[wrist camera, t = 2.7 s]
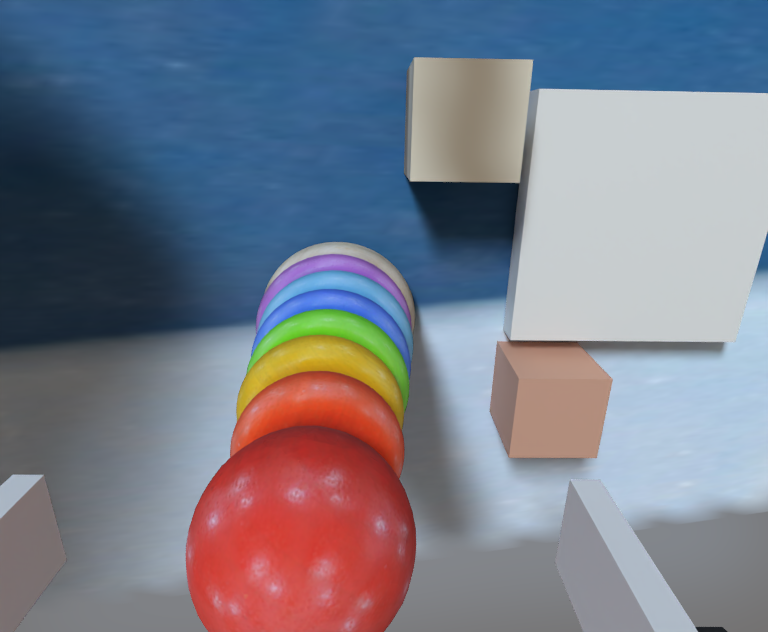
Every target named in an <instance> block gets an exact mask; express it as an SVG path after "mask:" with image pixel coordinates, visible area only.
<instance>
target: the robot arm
mask: <svg viewBox="0 0 768 632" xmlns="http://www.w3.org/2000/svg"><path fill="white" fill-rule="evenodd" d="M66 561H67V558H66V555H65V551H64V547H63V543H62V540H61V536H60V532H59V529H58V525H57V521H56V518H55V514H54V510H53V506H52V503H51V499H50V495H49V492H48V488H47V484H46V481H45V477H44V475H12V476H11V477H10V478H9V479H7V480H6V481H5V482H4V483H3V484H2V485H1V486H0V632H14V631H15V629H16V628H17V627H18V625H19V624H20V623H21V621H22V620H23V619H24V617H25V616H26V615H27V613H28V612H29V611H30V609H31V608H32V607H33V605H34V604H35V603H36V601H37V600H38V598H39V597H40V596H41V594H42V593H43V592H44V590H45V589H46V588H47V586H48V585H49V584H50V582H51V581H52V580H53V578H54V577H55V576H56V574H57V573H58V571H59V570H60V569H61V567H62V566H63V565H64V563H65V562H66ZM555 564H556V567H557V569H558V572H559V574H560V577H561V579H562V581H563V584H564V586H565V589H566V591H567V594H568V596H569V598H570V601H571V603H572V606H573V608H574V611H575V613H576V615H577V618H578V620H579V622H580V625H581V628H582V630H583V632H727V631H726V630H725V629H724V628H723V627H695V626H694V625H693V623H692V622H691V620H690V618H689V617H688V615H687V614H686V612H685V611H684V609H683V607H682V606H681V604H680V603H679V601H678V600H677V598H676V597H675V595H674V594H673V592H672V590H671V589H670V587H669V586H668V584H667V583H666V581H665V580H664V578H663V576H662V575H661V573H660V572H659V570H658V569H657V567H656V566H655V564H654V563H653V561H652V559H651V558H650V556H649V555H648V553H647V552H646V550H645V548H644V547H643V545H642V544H641V542H640V541H639V540H638V538H637V536H636V534H635V533H634V532H633V530H632V528H631V527H630V525H629V524H628V522H627V520H626V519H625V517H624V516H623V514H622V513H621V511H620V510H619V508H618V506H617V505H616V503H615V502H614V500H613V499H612V497H611V496H610V494H609V492H608V491H607V489H606V488H605V486H604V485H603V483H602V482H601V480H595V479H570V482H569V487H568V493H567V499H566V504H565V510H564V515H563V521H562V527H561V532H560V538H559V543H558V549H557V555H556V560H555Z"/></svg>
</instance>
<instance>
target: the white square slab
mask: <svg viewBox="0 0 768 632" xmlns="http://www.w3.org/2000/svg"><path fill="white" fill-rule="evenodd" d="M767 231H768V93H723V92H672V91H621V90H570V89H537V90H534V91H530V94H529V103H528V112H527V121H526V130H525V140H524V149H523V158H522V167H521V176H520V183H519V190H518V199H517V208H516V217H515V227H514V236H513V245H512V254H511V263H510V272H509V281H508V290H507V299H506V308H505V317H504V326H503V330H504V332H505V333H506V335H507V336H508V338H509V339H510V340H542V341H664V342H735V341H736V337H737V334H738V330H739V327H740V324H741V320H742V317H743V313H744V310H745V307H746V303H747V300H748V296H749V293H750V289H751V286H752V283H753V279H754V276H755V272H756V269H757V266H758V262H759V259H760V255H761V252H762V249H763V245H764V242H765V238H766V235H767Z"/></svg>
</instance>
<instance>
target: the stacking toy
mask: <svg viewBox="0 0 768 632" xmlns="http://www.w3.org/2000/svg"><path fill="white" fill-rule="evenodd" d="M414 324H415V308H414V302H413V297H412V294H411V291H410V289H409V287H408V284H407V283H406V281H405V279H404V278H403V276H402V275H401V274H400V272H399V271H398V270H397V269H396V268H395V266H394V265H393V264H391V263H390V262H389V261H388V260H387V259H386V258H384V257H383V256H381V255H380V254H379V253H377V252H375V251H373V250H371V249H368V248H366V247H363V246H360V245H357V244H352V243H346V242H327V243H321V244H317V245H313V246H310V247H307V248H305V249H303V250H301V251H299V252H297V253H295V254H294V255H292V256H291V257H290V258H288V259H287V260H286V261H285V262H284V263H283V264H282V265H281V266H280V267H279V268H278V269H277V270H276V272H275V273H274V275H273V276H272V278H271V280H270V282H269V283H268V285H267V288H266V290H265V293H264V296H263V298H262V300H261V303H260V306H259V309H258V313H257V320H256V334H257V335H256V338H255V341H254V344H253V347H252V354H251V359H250V362H249V365H248V368H247V374H246V377H245V379H244V381H243V383H242V385H241V388H240V391H239V394H238V400H237V411H236V413H237V424H236V426H235V429H234V432H233V436H232V440H231V450H230V459H228V461H227V462H226V463H225V464H224V465H222V466H221V468H220V469H219V470H218V472H217V473H216V474H215V476H214V477H213V478H212V480H211V481H210V483H209V484H208V486H207V487H206V489H205V491H204V492H203V494H202V496H201V498H200V500H199V502H198V504H197V506H196V508H195V512H194V515H193V518H192V521H191V524H190V528H189V532H188V538H187V544H186V570H187V580H188V587H189V591H190V594H191V598H192V601H193V604H194V606H195V609H196V611H197V614H198V616H199V618H200V619H201V621H202V623H203V625H204V626H205V628H206V629H207V630H208V631H209V632H384V631H385V630H386V628H387V627H388V625H389V624H390V623H391V622H392V620H393V618H394V617H395V615H396V614H397V612H398V610H399V609H400V607H401V605H402V604H403V601H404V599H405V596H406V594H407V591H408V588H409V584H410V580H411V576H412V572H413V568H414V562H415V553H416V528H415V523H414V518H413V512H412V509H411V506H410V503H409V500H408V497H407V494H406V492H405V489H404V488H403V486H402V484H401V482H400V480H399V478H400V475H401V471H402V467H403V462H404V439H403V434H402V427H403V420H404V413H405V410H406V406H407V402H408V397H409V379H410V372H411V361H412V355H413V331H414Z"/></svg>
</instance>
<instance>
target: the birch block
mask: <svg viewBox="0 0 768 632" xmlns="http://www.w3.org/2000/svg"><path fill="white" fill-rule="evenodd" d="M532 66H533V60H517V59H466V58H415V57H414V59H413V61H412V63H411V65H410V67H409V68H408V70H407V87H406V122H405V157H404V174H405V175H406V176H407V178H408V179H409V180H410V181H427V182H498V183H520V176H521V167H522V158H523V149H524V140H525V130H526V121H527V112H528V103H529V94H530V85H531V75H532Z"/></svg>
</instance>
